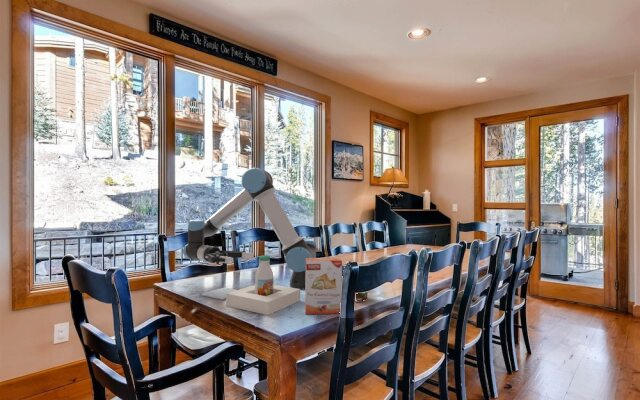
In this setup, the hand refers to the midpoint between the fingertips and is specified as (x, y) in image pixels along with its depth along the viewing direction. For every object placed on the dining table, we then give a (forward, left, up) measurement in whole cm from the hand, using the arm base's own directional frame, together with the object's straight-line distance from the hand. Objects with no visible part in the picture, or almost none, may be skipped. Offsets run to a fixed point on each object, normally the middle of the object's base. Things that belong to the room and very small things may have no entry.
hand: (242, 258), depth 152 cm
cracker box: (-34, +20, -18) cm, 44 cm away
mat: (+10, -8, -18) cm, 22 cm away
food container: (-53, +4, -18) cm, 56 cm away
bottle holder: (-10, +7, -18) cm, 22 cm away
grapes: (-50, -16, -18) cm, 56 cm away
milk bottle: (-10, +7, -18) cm, 22 cm away
